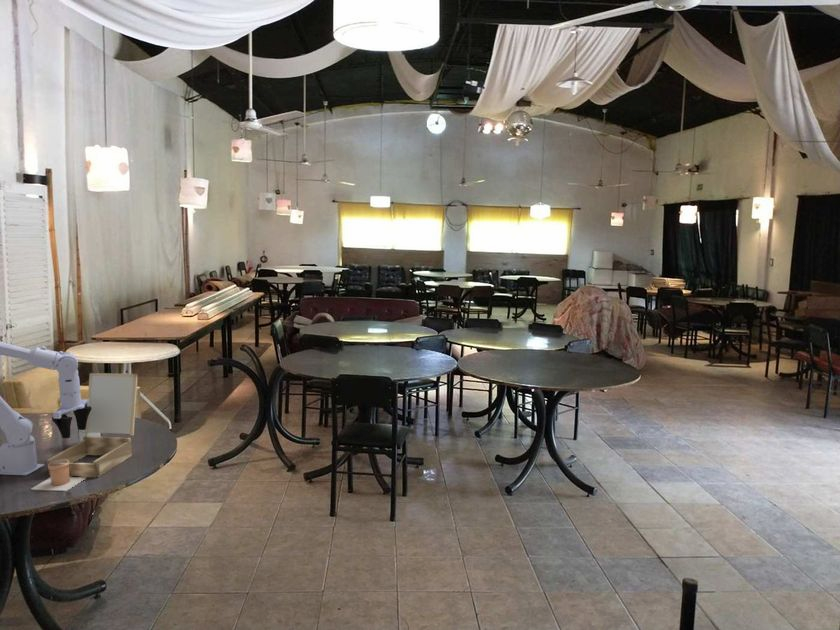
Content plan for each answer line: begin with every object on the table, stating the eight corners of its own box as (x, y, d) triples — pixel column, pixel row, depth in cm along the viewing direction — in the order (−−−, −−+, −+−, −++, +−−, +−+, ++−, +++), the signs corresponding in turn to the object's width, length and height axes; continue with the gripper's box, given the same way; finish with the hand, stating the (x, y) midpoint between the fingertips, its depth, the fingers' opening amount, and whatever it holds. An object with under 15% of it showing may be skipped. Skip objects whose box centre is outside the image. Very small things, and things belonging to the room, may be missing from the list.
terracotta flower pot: (45, 486, 183) (43, 466, 182) (58, 478, 189) (56, 458, 188) (63, 486, 183) (61, 466, 182) (75, 479, 188) (73, 459, 187)
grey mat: (30, 489, 181) (30, 488, 181) (52, 477, 190) (52, 476, 190) (66, 491, 180) (66, 490, 180) (86, 478, 189) (86, 477, 189)
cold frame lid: (89, 373, 211) (91, 373, 212) (85, 433, 209) (86, 433, 210) (136, 373, 209) (137, 373, 210) (132, 435, 207) (133, 435, 208)
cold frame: (48, 475, 192) (46, 456, 191) (86, 453, 209) (85, 436, 208) (98, 477, 190) (96, 458, 189) (132, 455, 207) (130, 437, 206)
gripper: (66, 398, 191) (70, 442, 193) (96, 386, 205) (100, 426, 207) (44, 398, 192) (49, 441, 194) (76, 385, 206) (80, 425, 208)
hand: (74, 433), depth 201 cm, fingers open, 7 cm apart
